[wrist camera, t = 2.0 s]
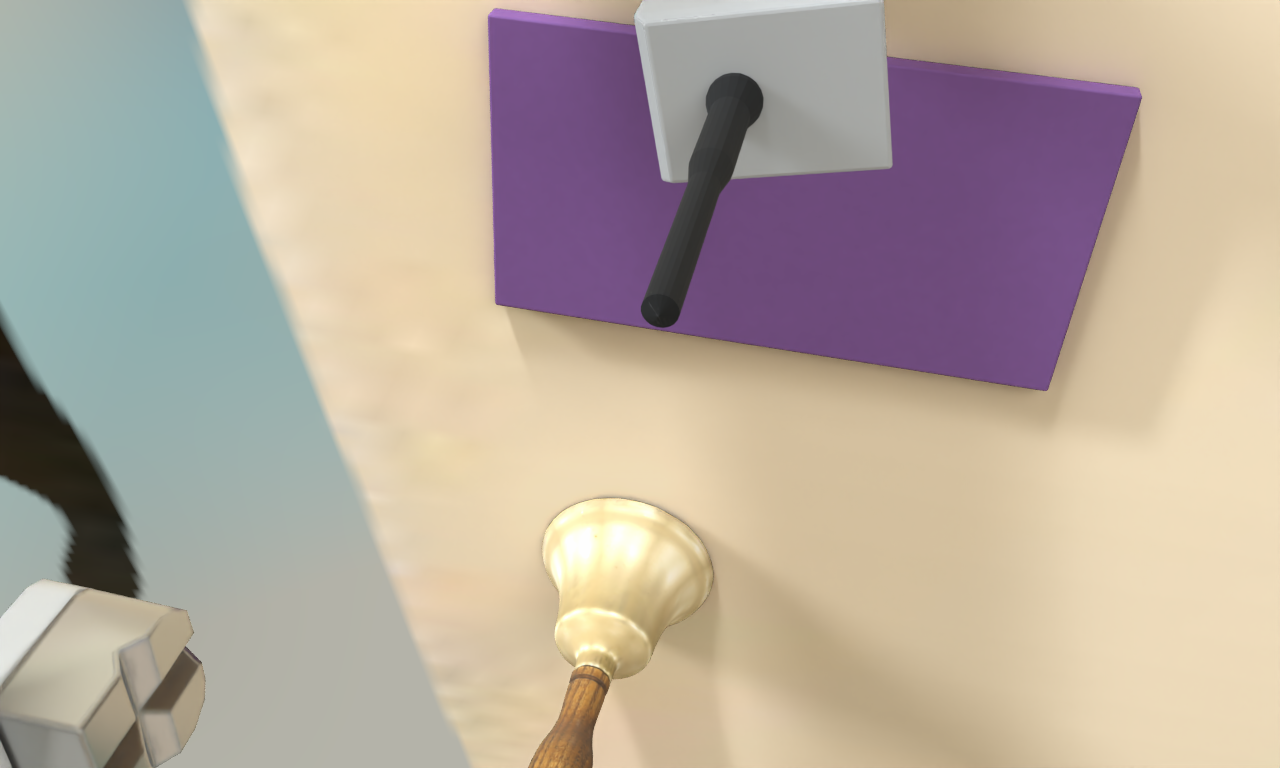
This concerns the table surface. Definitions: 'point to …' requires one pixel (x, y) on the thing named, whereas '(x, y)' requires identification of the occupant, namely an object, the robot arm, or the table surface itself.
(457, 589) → the table surface
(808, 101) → the vintage mobile phone
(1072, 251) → the mat
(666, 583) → the hand bell
